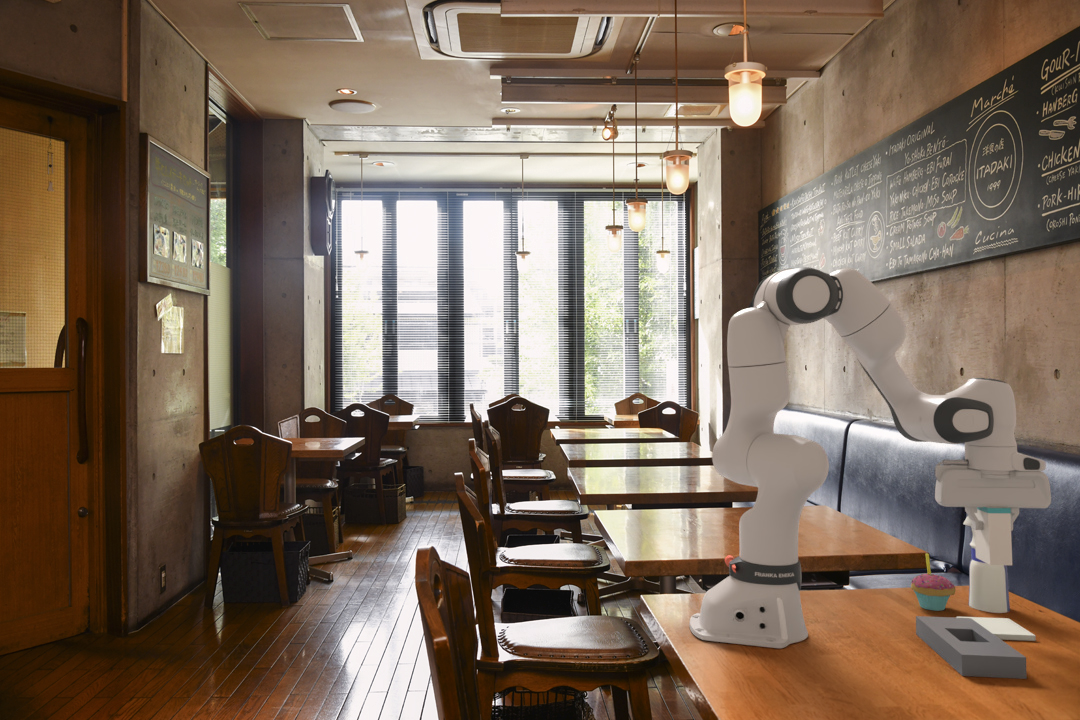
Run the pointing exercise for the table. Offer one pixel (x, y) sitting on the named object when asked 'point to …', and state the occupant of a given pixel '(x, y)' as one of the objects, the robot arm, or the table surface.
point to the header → (971, 647)
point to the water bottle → (987, 582)
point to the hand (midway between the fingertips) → (992, 529)
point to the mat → (1004, 628)
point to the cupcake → (932, 589)
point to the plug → (994, 536)
